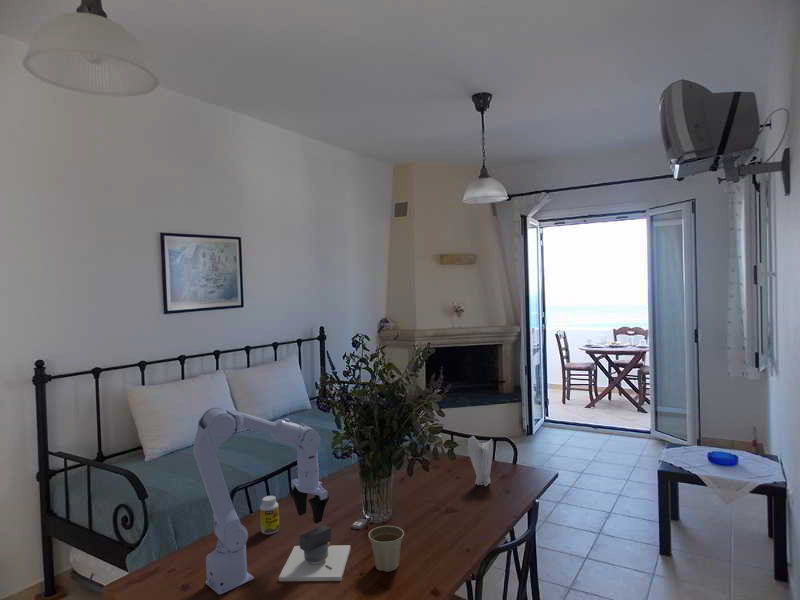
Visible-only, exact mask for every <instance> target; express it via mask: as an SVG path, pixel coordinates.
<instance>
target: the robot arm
mask: <svg viewBox="0 0 800 600" xmlns="http://www.w3.org/2000/svg"><path fill="white" fill-rule="evenodd" d="M225 411H226V412H225ZM244 429H247V430H252V431H255V432H260V433H264V434H268V435H270V437H271V438H272V440H273V441H275V442H280V443H283V444H286V445H287V444H288V445H292V446H296V459H297V460H296V463H297V478H294V479H292V480H290V482H291V488H293V489H291V490H289V495H290V497H291V498H292V500H293V502H294V505H295V507H296V508H295V509H296V511H297V514H298V516H299V517H300V516H303V515H305V514H306V513H307V504H308V503H309V504H310V507H311V510H312V511H311V512H312V519H313V523H314V524H320V523H321V522H322V521H323V517H324V512H325V508H326V505H327V503H328V502H329V500H330V495H328V490H326V489H325V488H324V487H323V485H322V484H323V482H322V481H320V480H319V476H320V475H319V451H318V448H319V446H320V445H321V442H322V437H320V433H319V432H318V430H316V429H314V428H312V427H310V426H309V425H306V424H305V423H303V422H300V424H299V423H295V422H292V421H291V419H290V418H287V417H284V418H283V419H282V418H278V419H277V420H275V421H271V420H268V419H264V418H262V417H258V416H255V415H252V414H248V413H245V412H242V411H239V410H234V409H233V410H232V409H227V408H224V409H222V408H220V407H215V406H214V407H210V408H208V409H207V410H205V411H204V413H203V414H202V416H201V417H200V419H198V422H197V430H196V434H195V438H194V443H193V445H192V446H193V447H192V453H193V457H194V459H195V462H196V464H197V468H198V470H199V473H200V477H201V480H202V483H203V486H204V488H205V492H206V494H207V497H208V498H207V499H208V500H209V504H210V507H211V509H212V512H213V514H212V518H213V521H214V522H213V523H214V524H213V533H214V536H215V537H217V538H218V540H217V541H216V545H215V547H216V548H215V549H214V550H213V551H211V552H210V553H208V554H206V557H205V572H206V581H205V585H207V586H208V587H209V588H210V589H212V590H213V591H214V592H215V593H216V594H217V595H222V594H226V593H227V592H229V591H231V590H234V589H236V588H239V587H240V586H242V585H245V584H246V583H248V582H250V581H253V580H254V579H255V576H253V575H252V574H251V573H249V572H248V565H247V563H248V561H247V542H248V539H249V533H248V530H247V528H246V527H245V526H244V525H243V524H242V523H241V521H240V517H239V516H238V515H237V512H236V510H235V508H234V504H233V501H232V499H231V496H230V492H229V489H228V487H227V484H226V481H225V478H224V474H223V472H222V468H221V464H220V461H219V458H218V456H217V451H218V450H219V448H220V447H221V445H223V443H224V442H225V441H227V440H228V439H229V438H230V437H231V436H232V435H233V434H234V433H240V432H241V431H243V430H244ZM308 494H310V495H313V496H314V497H312V498H309V499H308ZM307 502H308V503H307Z"/></svg>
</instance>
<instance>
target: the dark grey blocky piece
mask: <svg viewBox="0 0 800 600" xmlns="http://www.w3.org/2000/svg"><path fill="white" fill-rule="evenodd" d="M331 531H332V529H331V527H330V526H327V525H325V524H323V525H321V526H318V527H315V528H313V529H312V530H309V531H307V532H304V533H302V534H300V535H299V546H300V549H302V550H304V559H305V560H306V561H309V562H318V561H322V560H324V559H326V558H327V557H328V547H330V546H331V541H332V532H331Z"/></svg>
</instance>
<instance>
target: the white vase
mask: <svg viewBox="0 0 800 600" xmlns="http://www.w3.org/2000/svg"><path fill="white" fill-rule="evenodd" d="M467 443H468V445H467V449H468V455H469V457H470V461H471V464H472V467H473V469H474V472H475V476H476V479H475V481H474V484H475V485H476V484H477V485H476V486H479V485H481V486H480V487H488V486H489V485H490V484H491V477H490V476H491V470H492V464H493V463H492V461H493V456H494V455H493V454H494V443H493V438H490V440H488V441H487V442H483V443H481V442H480V441H478V439H477V438H476V437H475V436H474V435H471V437H469V438H468V439H467ZM482 482H483V483H482ZM489 483H490V484H489ZM488 484H489V485H488ZM482 485H484V486H482Z"/></svg>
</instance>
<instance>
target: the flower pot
mask: <svg viewBox="0 0 800 600" xmlns="http://www.w3.org/2000/svg"><path fill="white" fill-rule="evenodd" d="M367 534H368V539H369V540H370V543H371V547H372V553H373V559H374V565H375V568H376V570H378V571H379V572H382V571H383V572H392V571H393V572H394V571H395V570H396V569H398V567H399V565H400V556H401V555H400V554H401V548H402V547H401V545H402V542H403V538H404V536H405V531H404V530H403V529H402V528H401V527H398V526H394V525H381V526H378V527H375V528H372V529H371V530H370V531H369V532H368V533H367Z"/></svg>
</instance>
